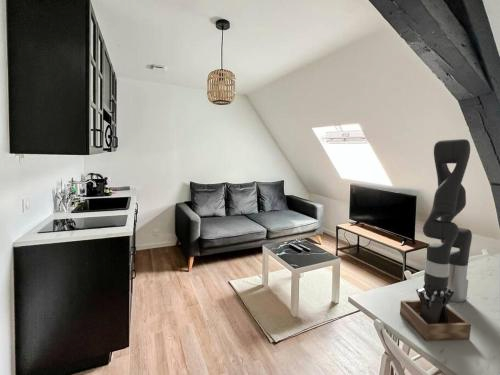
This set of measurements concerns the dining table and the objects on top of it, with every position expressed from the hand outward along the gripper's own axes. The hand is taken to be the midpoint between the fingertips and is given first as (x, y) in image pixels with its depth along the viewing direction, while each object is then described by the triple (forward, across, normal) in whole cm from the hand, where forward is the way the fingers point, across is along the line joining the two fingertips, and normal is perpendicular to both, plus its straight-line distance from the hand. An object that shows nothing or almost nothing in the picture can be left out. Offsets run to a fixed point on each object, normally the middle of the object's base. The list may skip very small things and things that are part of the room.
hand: (432, 313), depth 103 cm
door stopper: (+3, 0, 0) cm, 3 cm away
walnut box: (+5, 0, 0) cm, 5 cm away
